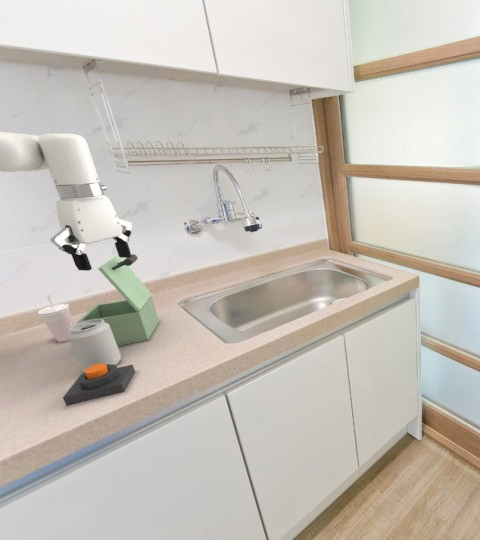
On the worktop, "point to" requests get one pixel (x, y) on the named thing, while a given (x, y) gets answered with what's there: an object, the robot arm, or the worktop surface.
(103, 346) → the can
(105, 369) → the button
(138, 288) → the lid
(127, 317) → the green hinged box
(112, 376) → the control block
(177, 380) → the worktop surface
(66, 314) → the smoothie
